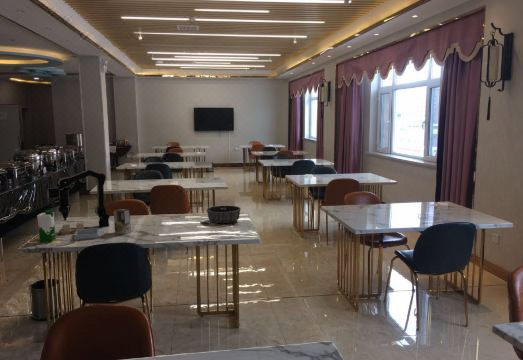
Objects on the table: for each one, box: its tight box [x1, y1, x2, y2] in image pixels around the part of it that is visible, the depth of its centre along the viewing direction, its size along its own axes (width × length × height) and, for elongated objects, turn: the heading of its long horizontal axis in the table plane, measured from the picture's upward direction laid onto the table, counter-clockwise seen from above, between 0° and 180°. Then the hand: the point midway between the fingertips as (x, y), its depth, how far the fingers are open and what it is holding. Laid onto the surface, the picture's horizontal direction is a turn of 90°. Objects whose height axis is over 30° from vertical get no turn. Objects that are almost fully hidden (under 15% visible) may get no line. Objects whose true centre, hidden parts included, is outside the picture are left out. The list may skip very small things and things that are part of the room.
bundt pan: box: [205, 205, 242, 224], centre depth 335 cm, size 26×26×10 cm
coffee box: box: [113, 208, 132, 235], centre depth 303 cm, size 9×6×16 cm
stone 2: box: [76, 221, 85, 230], centre depth 308 cm, size 4×4×6 cm
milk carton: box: [36, 209, 56, 243], centre depth 284 cm, size 9×9×20 cm
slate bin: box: [73, 227, 100, 241], centre depth 295 cm, size 14×14×4 cm
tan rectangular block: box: [61, 222, 72, 233], centre depth 305 cm, size 4×4×6 cm
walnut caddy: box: [57, 226, 90, 236], centre depth 307 cm, size 19×15×1 cm
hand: (65, 218), depth 304 cm, fingers open, 9 cm apart
